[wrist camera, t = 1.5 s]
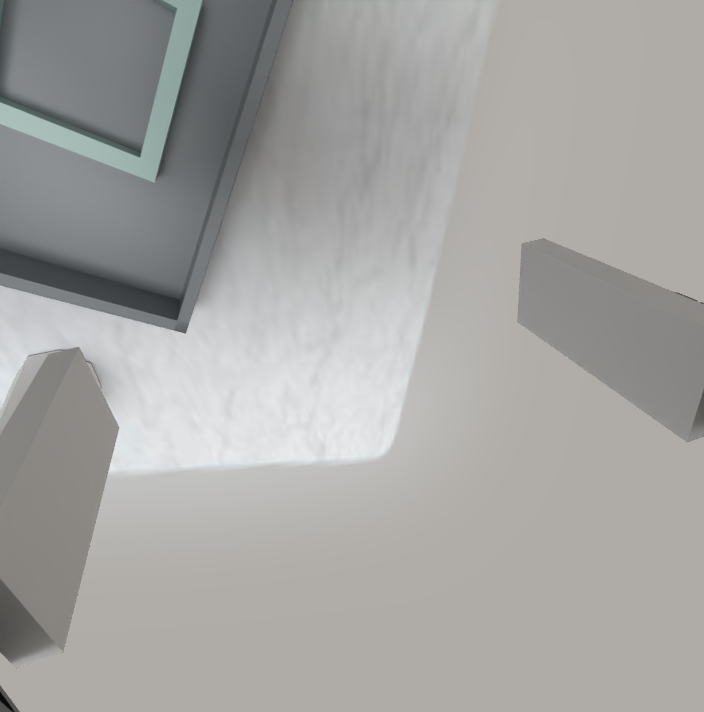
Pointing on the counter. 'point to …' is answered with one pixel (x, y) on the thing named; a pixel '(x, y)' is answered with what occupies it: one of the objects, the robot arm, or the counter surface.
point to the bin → (125, 144)
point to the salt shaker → (25, 385)
